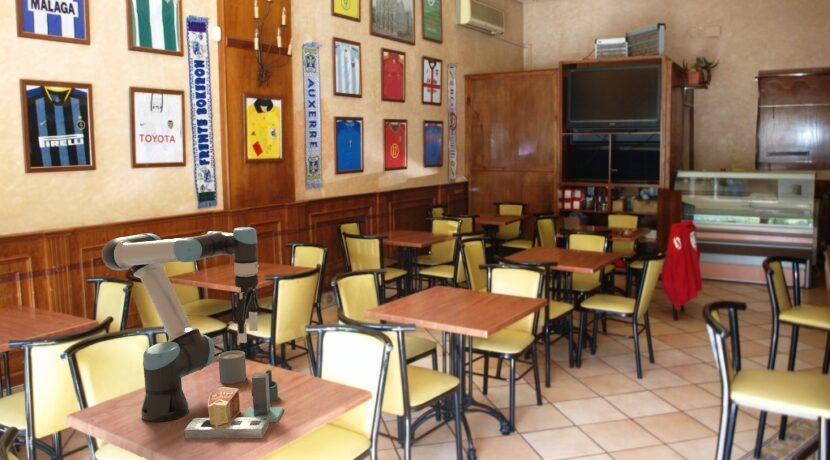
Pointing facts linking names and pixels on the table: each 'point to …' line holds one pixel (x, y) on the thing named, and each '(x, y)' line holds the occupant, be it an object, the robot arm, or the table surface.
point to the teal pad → (272, 416)
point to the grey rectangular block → (261, 394)
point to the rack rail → (227, 428)
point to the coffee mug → (232, 367)
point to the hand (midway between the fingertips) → (248, 336)
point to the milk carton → (223, 405)
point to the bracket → (271, 387)
